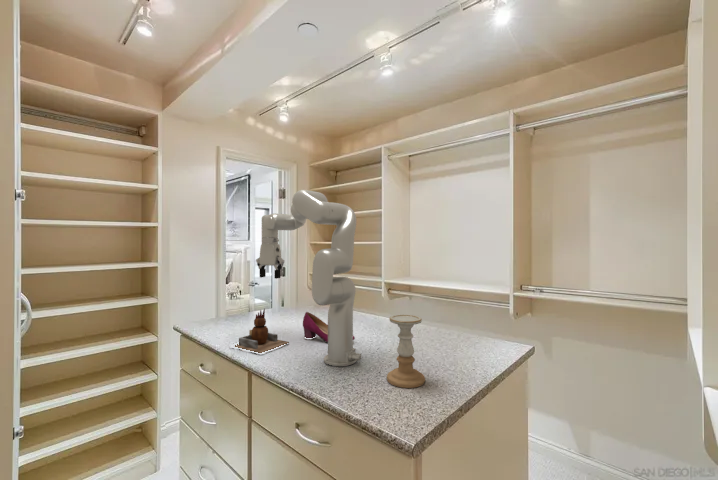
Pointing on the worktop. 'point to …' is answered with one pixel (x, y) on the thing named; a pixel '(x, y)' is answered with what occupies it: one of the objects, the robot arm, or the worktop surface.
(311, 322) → the high heel
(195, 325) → the worktop surface
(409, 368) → the candle holder
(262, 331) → the wooden figurine
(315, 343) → the worktop surface
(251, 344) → the board
